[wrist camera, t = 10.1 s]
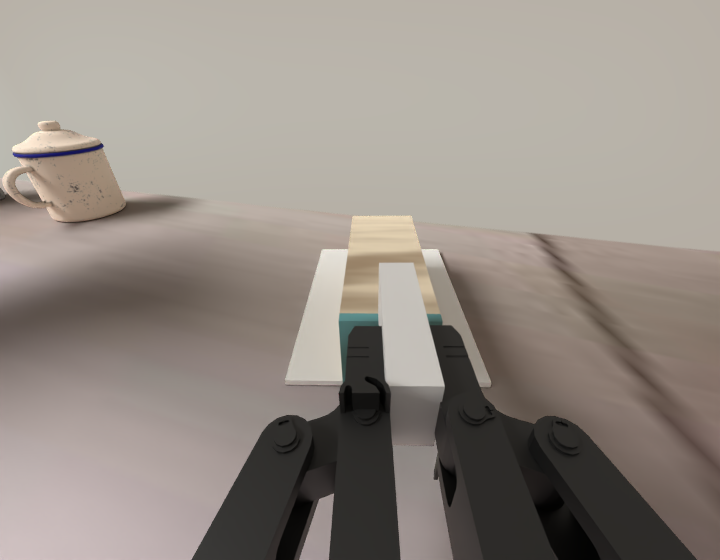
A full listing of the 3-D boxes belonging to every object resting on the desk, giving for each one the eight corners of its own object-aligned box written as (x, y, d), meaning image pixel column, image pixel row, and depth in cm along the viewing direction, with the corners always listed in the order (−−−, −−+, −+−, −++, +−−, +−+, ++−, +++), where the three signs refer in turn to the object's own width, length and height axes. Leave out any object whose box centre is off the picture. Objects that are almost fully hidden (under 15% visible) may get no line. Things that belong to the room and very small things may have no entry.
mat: (490, 387, 18) (491, 382, 18) (285, 384, 19) (284, 380, 18) (437, 252, 33) (437, 249, 32) (322, 252, 33) (322, 249, 33)
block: (442, 321, 15) (411, 215, 27) (338, 320, 15) (352, 215, 27) (431, 390, 18) (407, 266, 29) (343, 389, 18) (354, 266, 30)
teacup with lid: (98, 199, 50) (59, 117, 44) (143, 204, 48) (109, 118, 41) (8, 228, 40) (-58, 128, 34) (59, 236, 38) (-2, 129, 32)
